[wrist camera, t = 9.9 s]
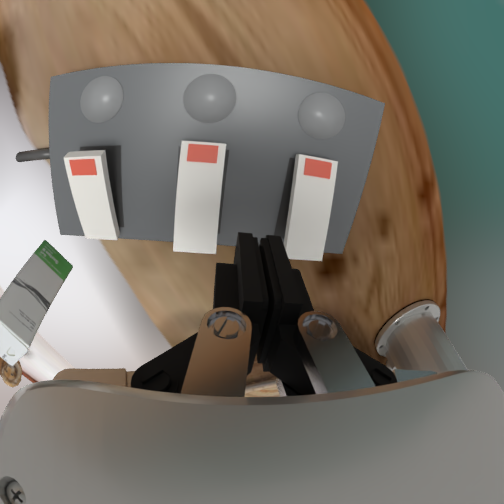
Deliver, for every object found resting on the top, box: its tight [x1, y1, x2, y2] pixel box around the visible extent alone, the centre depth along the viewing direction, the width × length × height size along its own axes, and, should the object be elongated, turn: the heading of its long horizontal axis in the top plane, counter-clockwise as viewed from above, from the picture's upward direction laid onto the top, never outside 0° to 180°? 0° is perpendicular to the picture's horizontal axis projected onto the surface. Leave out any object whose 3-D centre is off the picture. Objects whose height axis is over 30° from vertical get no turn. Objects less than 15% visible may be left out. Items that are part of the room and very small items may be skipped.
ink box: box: [0, 240, 73, 366], centre depth 20 cm, size 9×5×12 cm, turn 124°
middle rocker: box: [173, 141, 226, 254], centre depth 18 cm, size 8×3×1 cm, turn 171°
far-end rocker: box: [284, 154, 338, 261], centre depth 19 cm, size 8×3×1 cm, turn 171°
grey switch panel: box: [16, 63, 385, 254], centre depth 19 cm, size 14×32×3 cm, turn 81°
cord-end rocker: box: [64, 150, 120, 240], centre depth 17 cm, size 8×3×1 cm, turn 172°
